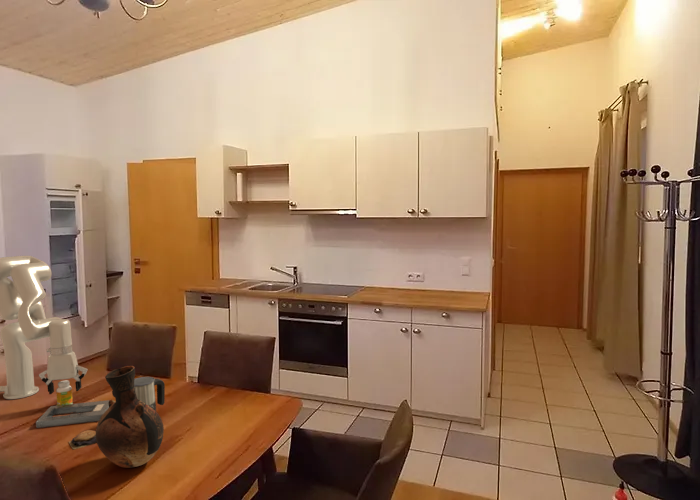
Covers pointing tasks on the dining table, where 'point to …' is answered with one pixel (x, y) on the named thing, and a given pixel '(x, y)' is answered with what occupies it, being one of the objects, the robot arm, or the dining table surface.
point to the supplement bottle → (64, 393)
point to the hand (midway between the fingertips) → (65, 391)
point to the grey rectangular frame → (95, 415)
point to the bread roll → (83, 439)
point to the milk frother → (149, 391)
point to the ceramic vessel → (128, 423)
